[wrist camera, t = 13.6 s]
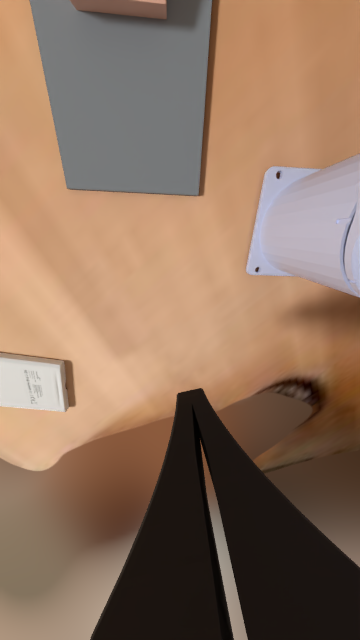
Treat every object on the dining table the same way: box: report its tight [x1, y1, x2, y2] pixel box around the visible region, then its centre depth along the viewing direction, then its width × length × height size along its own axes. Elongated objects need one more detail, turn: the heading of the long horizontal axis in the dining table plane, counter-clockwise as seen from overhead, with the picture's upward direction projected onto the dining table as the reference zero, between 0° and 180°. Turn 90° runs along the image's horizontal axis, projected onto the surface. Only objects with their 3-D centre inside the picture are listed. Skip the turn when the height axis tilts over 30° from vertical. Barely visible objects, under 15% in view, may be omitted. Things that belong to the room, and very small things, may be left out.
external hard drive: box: [0, 353, 69, 412], centre depth 22 cm, size 2×8×12 cm
